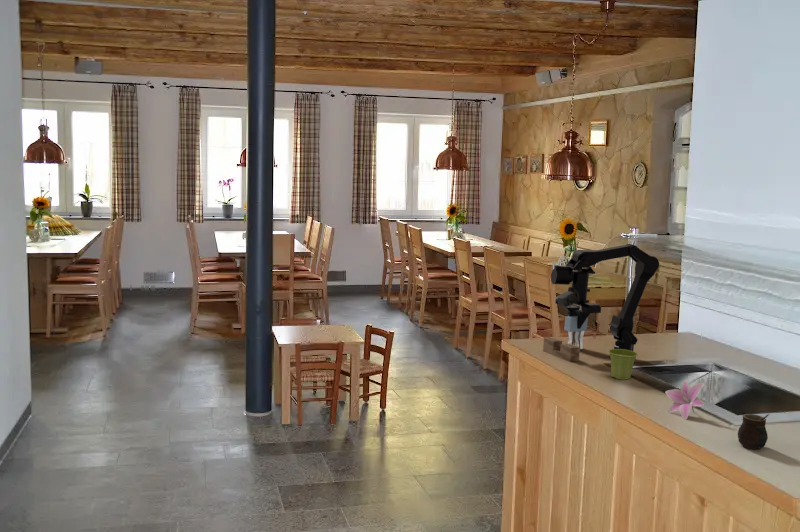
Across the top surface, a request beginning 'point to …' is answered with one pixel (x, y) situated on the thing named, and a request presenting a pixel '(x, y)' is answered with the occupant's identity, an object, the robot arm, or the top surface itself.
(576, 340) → the beer glass
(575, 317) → the light blue block
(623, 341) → the robot arm
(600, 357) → the top surface
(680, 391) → the lily
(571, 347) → the rail
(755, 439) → the mate gourd
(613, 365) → the plant pot
